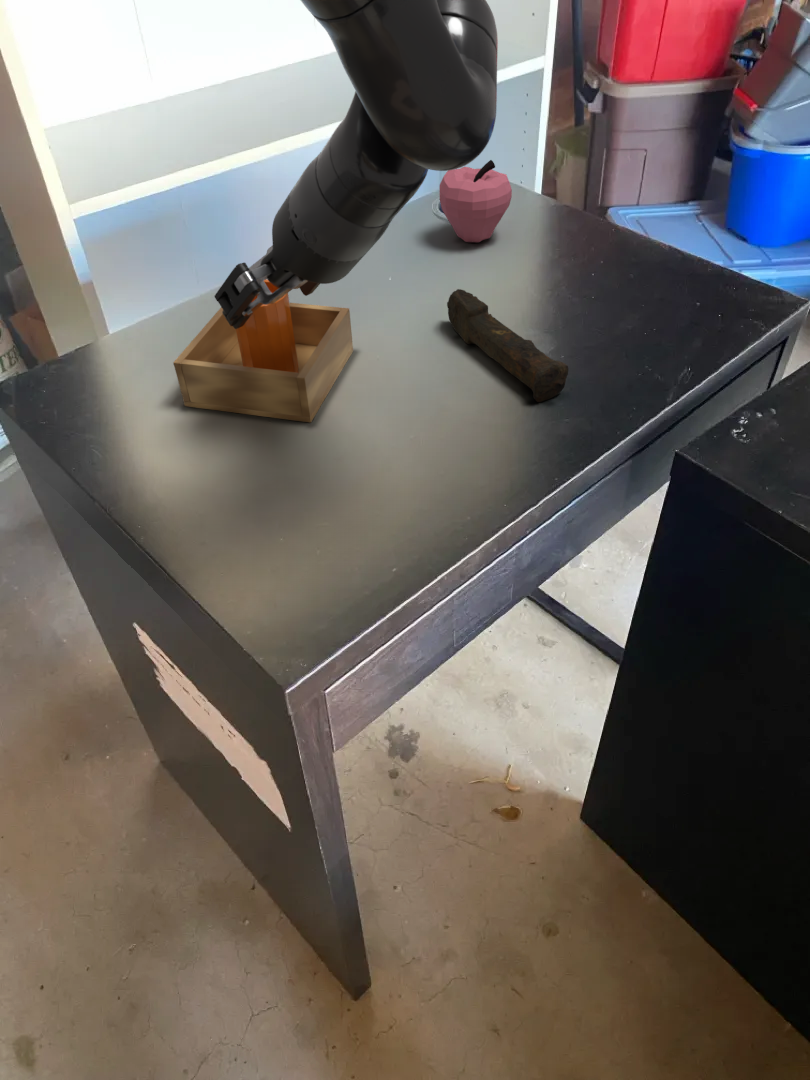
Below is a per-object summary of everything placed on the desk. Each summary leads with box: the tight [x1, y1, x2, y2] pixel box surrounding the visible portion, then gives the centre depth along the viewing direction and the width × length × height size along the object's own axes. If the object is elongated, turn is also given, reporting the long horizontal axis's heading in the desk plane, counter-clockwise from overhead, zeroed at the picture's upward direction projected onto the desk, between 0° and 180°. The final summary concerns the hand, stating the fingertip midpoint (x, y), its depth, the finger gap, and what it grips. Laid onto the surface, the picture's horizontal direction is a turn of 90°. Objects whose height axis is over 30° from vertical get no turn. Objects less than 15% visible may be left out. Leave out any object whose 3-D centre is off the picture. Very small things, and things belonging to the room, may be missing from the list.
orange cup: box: [236, 279, 299, 373], centre depth 83 cm, size 6×6×9 cm
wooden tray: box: [172, 302, 354, 423], centre depth 85 cm, size 14×14×5 cm
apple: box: [439, 159, 513, 243], centre depth 106 cm, size 10×9×10 cm
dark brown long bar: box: [446, 288, 569, 403], centre depth 86 cm, size 19×4×5 cm, turn 28°
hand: (267, 302), depth 79 cm, fingers open, 8 cm apart
